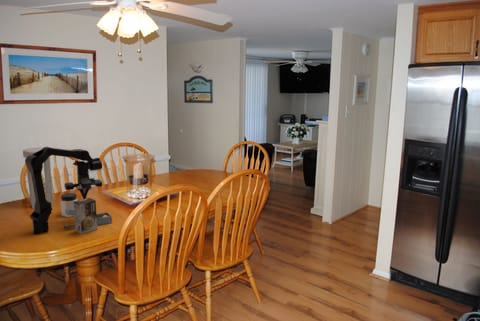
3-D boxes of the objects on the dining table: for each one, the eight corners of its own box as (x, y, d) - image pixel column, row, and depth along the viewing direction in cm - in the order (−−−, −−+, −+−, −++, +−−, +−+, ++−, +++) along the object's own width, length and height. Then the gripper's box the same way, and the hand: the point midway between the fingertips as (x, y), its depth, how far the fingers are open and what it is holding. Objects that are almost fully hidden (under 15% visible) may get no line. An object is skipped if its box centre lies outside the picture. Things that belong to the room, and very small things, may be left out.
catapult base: (66, 230, 199) (65, 220, 198) (64, 226, 204) (63, 216, 203) (96, 225, 208) (95, 215, 207) (93, 221, 213) (93, 212, 212)
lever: (66, 214, 199) (67, 211, 199) (62, 208, 209) (63, 204, 209) (93, 218, 207) (94, 214, 207) (88, 211, 217) (89, 208, 217)
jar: (66, 212, 227) (64, 192, 225) (80, 212, 228) (78, 192, 226) (59, 217, 219) (58, 197, 216) (74, 217, 219) (72, 197, 217)
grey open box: (97, 225, 207) (96, 217, 206) (93, 221, 213) (93, 213, 213) (111, 223, 212) (111, 215, 211) (107, 219, 218) (107, 211, 217)
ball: (108, 222, 213) (102, 221, 211) (106, 220, 215) (100, 219, 213) (110, 216, 213) (103, 215, 211) (108, 214, 215) (102, 214, 213)
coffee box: (91, 226, 206) (89, 197, 203) (97, 229, 202) (96, 200, 199) (74, 231, 199) (73, 201, 196) (81, 234, 195) (79, 203, 192)
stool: (57, 205, 239) (53, 150, 232) (29, 209, 230) (24, 152, 223) (53, 199, 251) (49, 146, 244) (26, 203, 242) (21, 148, 236)
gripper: (67, 177, 199) (69, 205, 202) (104, 173, 209) (105, 200, 212) (63, 172, 208) (65, 200, 211) (99, 169, 218) (100, 195, 221)
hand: (84, 199), depth 214 cm, fingers closed
